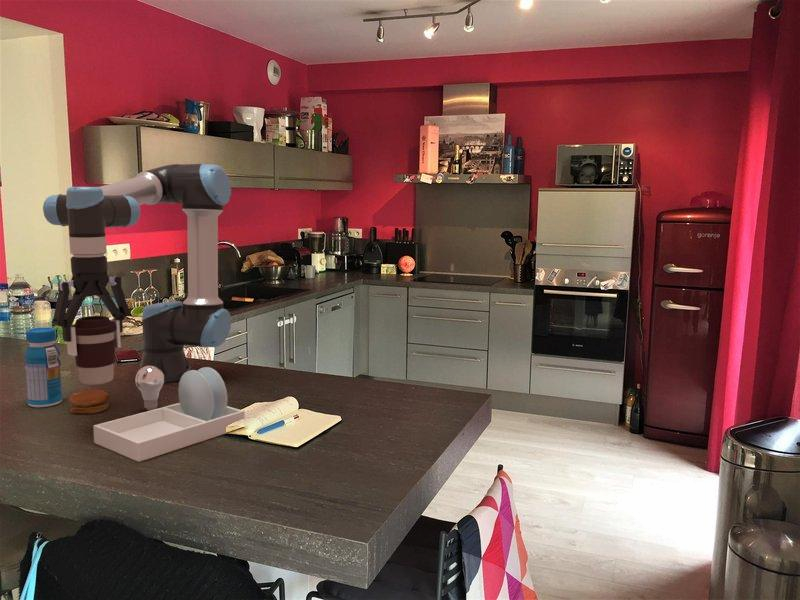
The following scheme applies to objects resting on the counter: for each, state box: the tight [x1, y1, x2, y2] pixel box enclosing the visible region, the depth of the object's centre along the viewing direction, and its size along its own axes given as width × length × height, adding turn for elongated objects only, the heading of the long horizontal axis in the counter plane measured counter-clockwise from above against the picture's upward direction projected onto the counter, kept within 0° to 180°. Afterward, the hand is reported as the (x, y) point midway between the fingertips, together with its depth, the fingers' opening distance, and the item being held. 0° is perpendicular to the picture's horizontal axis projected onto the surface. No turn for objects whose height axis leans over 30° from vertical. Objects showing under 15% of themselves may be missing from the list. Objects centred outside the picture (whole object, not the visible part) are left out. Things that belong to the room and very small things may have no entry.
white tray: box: [93, 402, 246, 463], centre depth 152 cm, size 28×18×4 cm, turn 143°
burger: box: [68, 389, 110, 415], centre depth 170 cm, size 10×9×5 cm
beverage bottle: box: [23, 326, 63, 408], centre depth 173 cm, size 8×8×20 cm
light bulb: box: [134, 365, 165, 411], centre depth 168 cm, size 7×7×12 cm
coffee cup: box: [71, 315, 117, 386], centre depth 152 cm, size 10×10×15 cm
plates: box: [177, 366, 228, 421], centre depth 158 cm, size 4×13×13 cm, turn 53°
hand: (95, 350), depth 152 cm, fingers closed on coffee cup, 10 cm apart
